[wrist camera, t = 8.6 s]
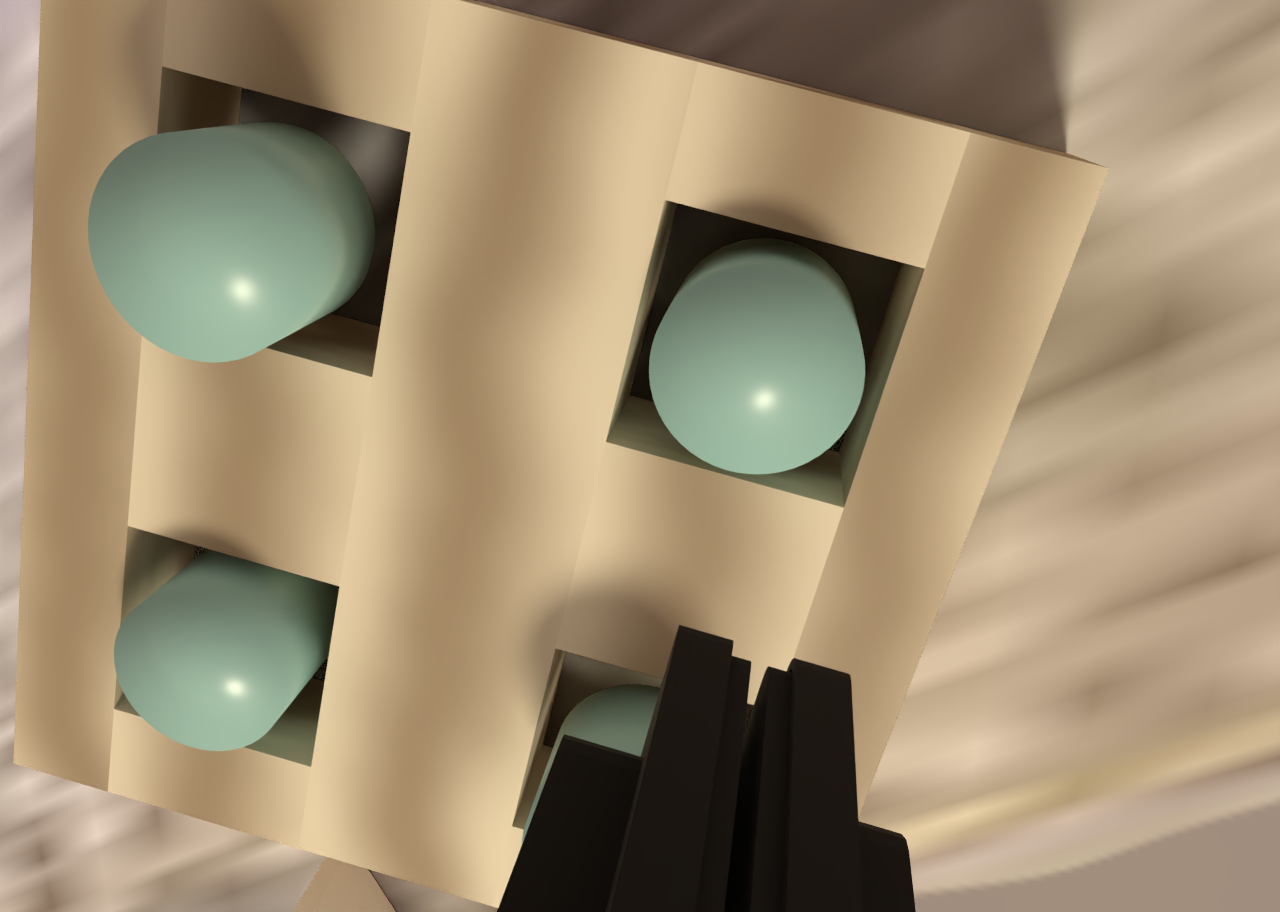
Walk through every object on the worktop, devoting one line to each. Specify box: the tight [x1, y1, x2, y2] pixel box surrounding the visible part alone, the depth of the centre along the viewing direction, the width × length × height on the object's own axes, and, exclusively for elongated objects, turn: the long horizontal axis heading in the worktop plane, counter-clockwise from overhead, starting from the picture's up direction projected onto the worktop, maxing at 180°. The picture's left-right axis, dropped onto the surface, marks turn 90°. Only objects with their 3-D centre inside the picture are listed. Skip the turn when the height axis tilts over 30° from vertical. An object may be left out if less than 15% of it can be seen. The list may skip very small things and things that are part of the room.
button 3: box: [522, 685, 660, 843], centre depth 29 cm, size 5×5×4 cm
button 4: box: [649, 238, 865, 474], centre depth 27 cm, size 5×5×4 cm
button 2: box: [114, 549, 338, 751], centre depth 31 cm, size 5×5×4 cm
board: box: [14, 0, 1109, 908], centre depth 30 cm, size 24×24×4 cm
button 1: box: [88, 121, 375, 363], centre depth 25 cm, size 5×5×4 cm
